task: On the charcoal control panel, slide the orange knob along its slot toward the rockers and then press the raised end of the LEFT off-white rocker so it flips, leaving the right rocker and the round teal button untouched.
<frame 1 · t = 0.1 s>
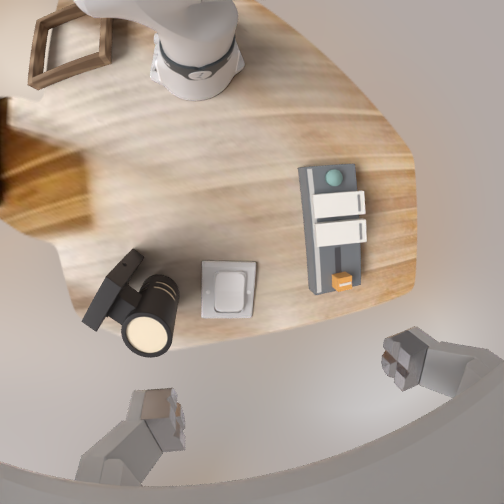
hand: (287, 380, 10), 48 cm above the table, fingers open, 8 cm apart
button: (333, 177, 53), point 5 cm above the table, slide at 0.0 cm
slider knob: (342, 281, 57), point 6 cm above the table, slide at 0.0 cm
rocker B: (341, 232, 54), point 6 cm above the table, hinge at 14.0°
panel: (328, 227, 60), on the table
rocker A: (339, 204, 52), point 6 cm above the table, hinge at 14.0°
light fixture: (148, 285, 56), on the table
light switch: (227, 289, 60), on the table
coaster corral: (74, 43, 40), on the table
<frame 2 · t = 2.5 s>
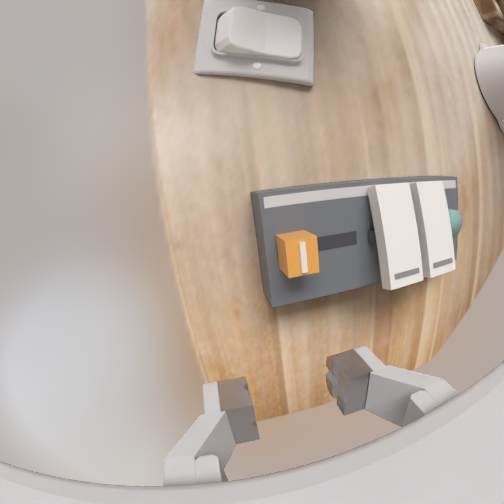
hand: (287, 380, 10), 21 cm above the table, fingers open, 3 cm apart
button: (450, 222, 29), point 5 cm above the table, slide at 0.0 cm
slider knob: (297, 253, 25), point 6 cm above the table, slide at 0.0 cm
rocker B: (397, 234, 26), point 6 cm above the table, hinge at 14.0°
panel: (365, 226, 32), on the table
rocker A: (434, 227, 26), point 6 cm above the table, hinge at 14.0°
light switch: (255, 40, 26), on the table
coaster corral: (488, 3, 26), on the table
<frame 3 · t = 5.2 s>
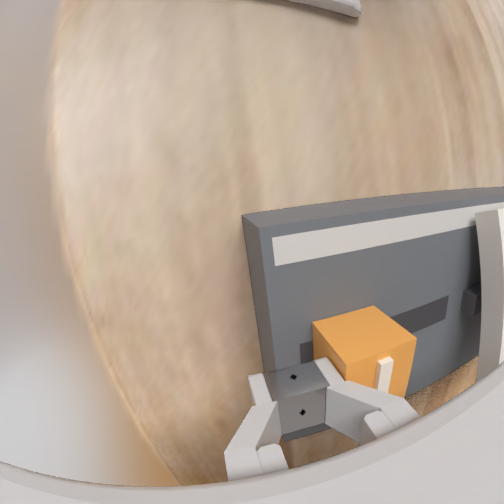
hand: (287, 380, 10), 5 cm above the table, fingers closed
slider knob: (361, 366, 10), point 6 cm above the table, slide at 0.5 cm, touching gripper
panel: (440, 271, 17), on the table
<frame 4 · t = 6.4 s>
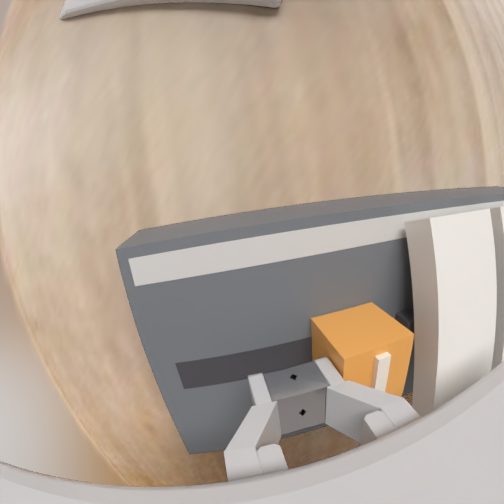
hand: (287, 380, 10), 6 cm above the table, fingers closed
slider knob: (359, 362, 10), point 6 cm above the table, slide at 5.5 cm, touching gripper
rocker B: (460, 328, 10), point 6 cm above the table, hinge at 14.0°
panel: (385, 286, 16), on the table
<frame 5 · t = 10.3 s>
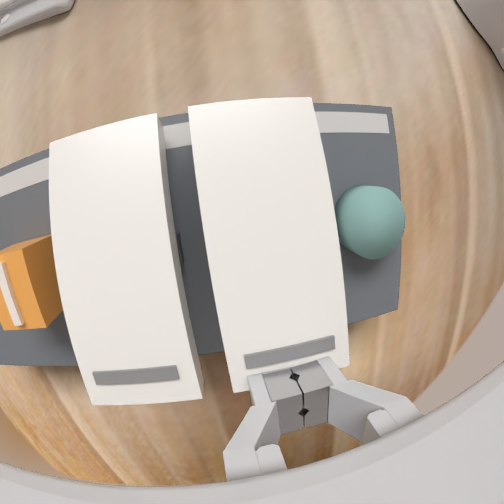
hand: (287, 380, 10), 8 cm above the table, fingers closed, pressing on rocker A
button: (369, 221, 12), point 5 cm above the table, slide at 0.0 cm
slider knob: (26, 282, 9), point 6 cm above the table, slide at 5.5 cm
rocker B: (116, 266, 9), point 6 cm above the table, hinge at 14.0°
panel: (149, 235, 16), on the table
rocker A: (271, 241, 10), point 6 cm above the table, hinge at 12.1°, touching gripper
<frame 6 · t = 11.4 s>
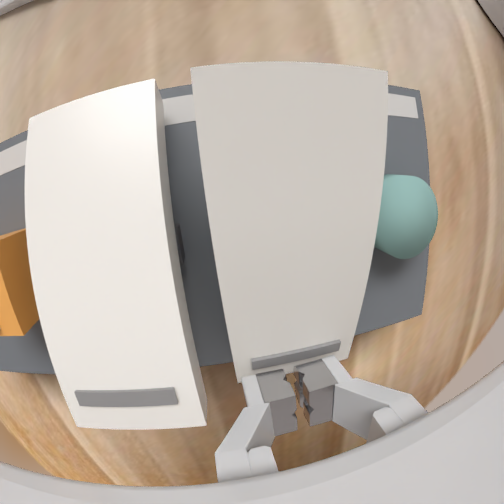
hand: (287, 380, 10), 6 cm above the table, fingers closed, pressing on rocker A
button: (399, 215, 10), point 5 cm above the table, slide at 0.0 cm
slider knob: (3, 281, 8), point 6 cm above the table, slide at 5.5 cm
rocker B: (101, 264, 7), point 6 cm above the table, hinge at 14.0°
panel: (146, 229, 14), on the table
rocker A: (293, 250, 8), point 6 cm above the table, hinge at -16.4°, touching gripper
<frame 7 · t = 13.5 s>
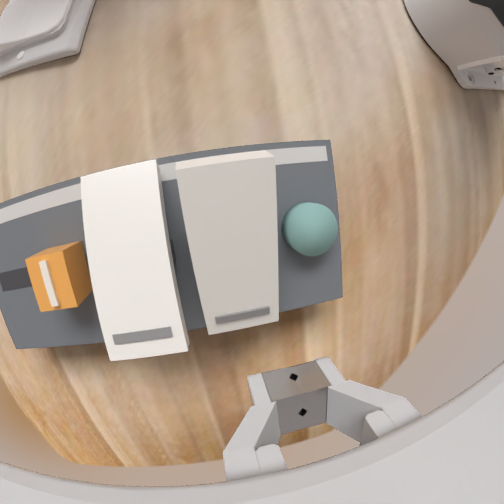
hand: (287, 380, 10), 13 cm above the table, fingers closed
button: (309, 228, 18), point 5 cm above the table, slide at 0.0 cm
slider knob: (59, 275, 14), point 6 cm above the table, slide at 5.5 cm
rocker B: (130, 261, 14), point 6 cm above the table, hinge at 14.0°
panel: (149, 243, 20), on the table
rocker A: (233, 252, 15), point 6 cm above the table, hinge at -17.9°
light switch: (39, 26, 14), on the table
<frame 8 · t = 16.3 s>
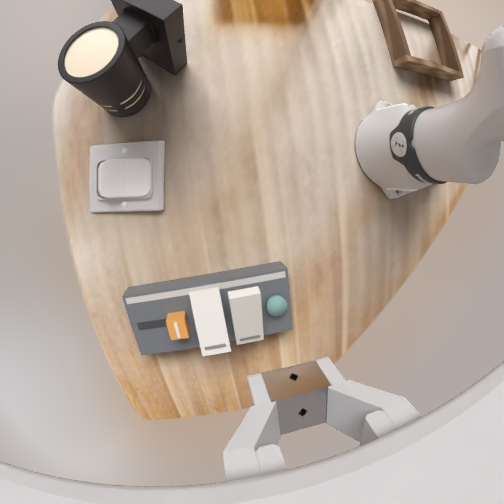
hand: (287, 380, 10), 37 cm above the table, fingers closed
button: (276, 305, 45), point 5 cm above the table, slide at 0.0 cm
slider knob: (178, 325, 42), point 6 cm above the table, slide at 5.5 cm
rocker B: (210, 321, 42), point 6 cm above the table, hinge at 14.0°
panel: (209, 305, 48), on the table
rocker A: (247, 317, 43), point 6 cm above the table, hinge at -17.9°
light fixture: (138, 80, 37), on the table
light switch: (126, 176, 41), on the table
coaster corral: (414, 38, 42), on the table
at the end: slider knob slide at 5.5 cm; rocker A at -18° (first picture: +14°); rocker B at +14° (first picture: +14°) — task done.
